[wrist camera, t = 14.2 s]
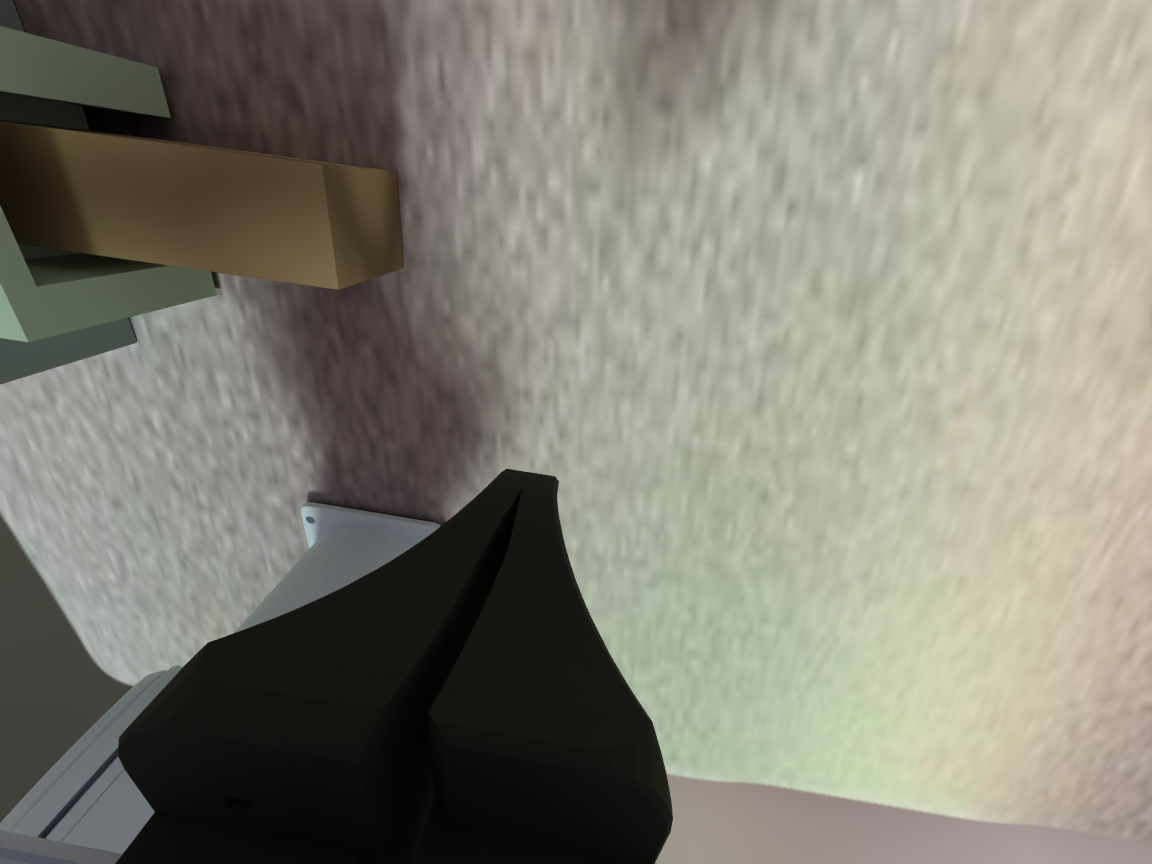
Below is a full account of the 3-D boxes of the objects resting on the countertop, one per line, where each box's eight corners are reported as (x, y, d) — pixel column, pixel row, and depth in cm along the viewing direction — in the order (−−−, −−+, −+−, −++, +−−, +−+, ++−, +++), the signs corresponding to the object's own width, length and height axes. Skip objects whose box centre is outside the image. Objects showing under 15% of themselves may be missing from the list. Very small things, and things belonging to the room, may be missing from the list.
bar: (406, 266, 19) (338, 289, 14) (133, 228, 19) (-13, 239, 15) (399, 171, 17) (321, 164, 13) (101, 131, 18) (-74, 111, 13)
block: (216, 295, 20) (28, 342, 14) (109, 278, 20) (-126, 318, 14) (157, 67, 16) (-142, -12, 10) (24, 49, 16) (-353, -40, 10)
